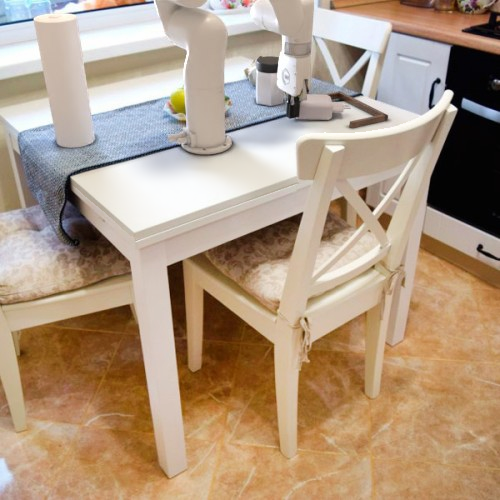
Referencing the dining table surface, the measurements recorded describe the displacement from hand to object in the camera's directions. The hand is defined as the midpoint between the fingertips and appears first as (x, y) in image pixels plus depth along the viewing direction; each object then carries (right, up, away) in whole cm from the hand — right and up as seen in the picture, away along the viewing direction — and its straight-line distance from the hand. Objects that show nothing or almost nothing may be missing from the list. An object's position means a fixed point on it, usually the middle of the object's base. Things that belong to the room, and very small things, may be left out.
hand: (292, 116), depth 160 cm
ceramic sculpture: (-8, +17, +28) cm, 34 cm away
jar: (-6, +8, +14) cm, 17 cm away
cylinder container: (-56, -8, -11) cm, 57 cm away
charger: (+9, +2, +5) cm, 10 cm away
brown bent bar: (+16, +3, +8) cm, 18 cm away
